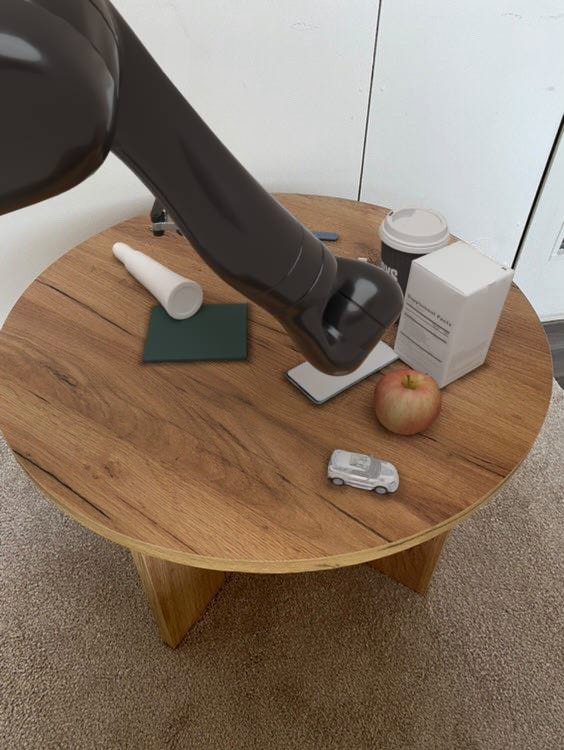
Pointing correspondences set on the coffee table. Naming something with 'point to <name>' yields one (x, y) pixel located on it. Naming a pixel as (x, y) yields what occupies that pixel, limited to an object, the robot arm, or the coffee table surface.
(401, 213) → the coffee cup
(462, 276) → the white product box
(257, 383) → the coffee table surface
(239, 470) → the coffee table surface
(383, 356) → the smartphone
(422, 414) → the apple
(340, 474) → the toy car
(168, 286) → the cosmetic bottle
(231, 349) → the mat
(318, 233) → the wristwatch
